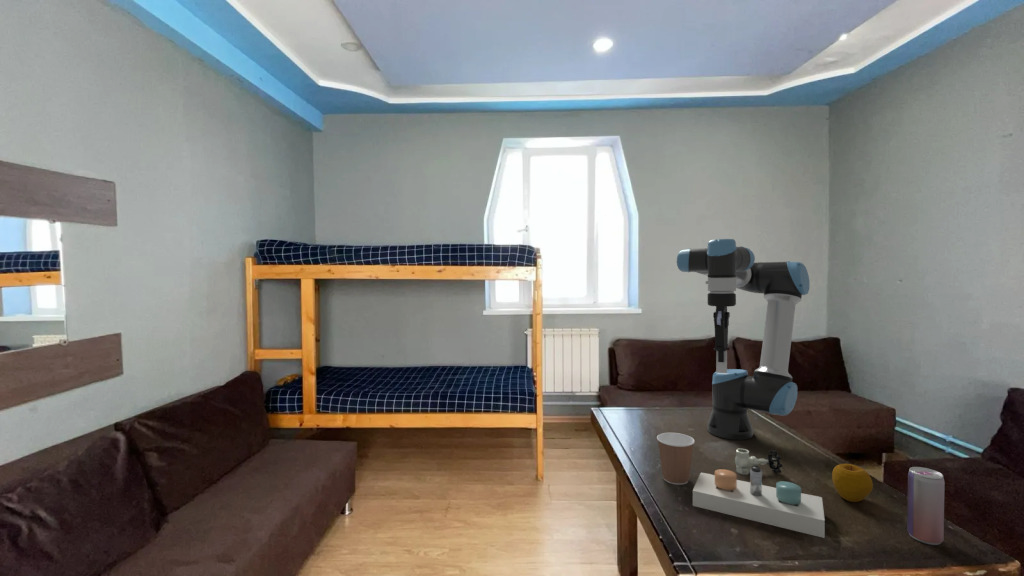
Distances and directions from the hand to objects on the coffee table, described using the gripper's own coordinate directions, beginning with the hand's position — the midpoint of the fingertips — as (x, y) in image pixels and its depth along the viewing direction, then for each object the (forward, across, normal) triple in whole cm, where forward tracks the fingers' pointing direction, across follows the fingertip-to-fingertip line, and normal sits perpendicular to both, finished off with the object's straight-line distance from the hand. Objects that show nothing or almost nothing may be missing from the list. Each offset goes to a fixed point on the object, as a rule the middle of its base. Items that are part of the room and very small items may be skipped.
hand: (721, 372), depth 133 cm
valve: (+31, -6, +8) cm, 33 cm away
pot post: (+26, +17, +10) cm, 33 cm away
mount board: (+30, +17, +10) cm, 36 cm away
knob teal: (+30, +17, +17) cm, 38 cm away
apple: (+31, -1, +31) cm, 44 cm away
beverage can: (+31, +12, +43) cm, 54 cm away
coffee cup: (+31, +10, -11) cm, 34 cm away
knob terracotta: (+30, +17, +3) cm, 34 cm away
